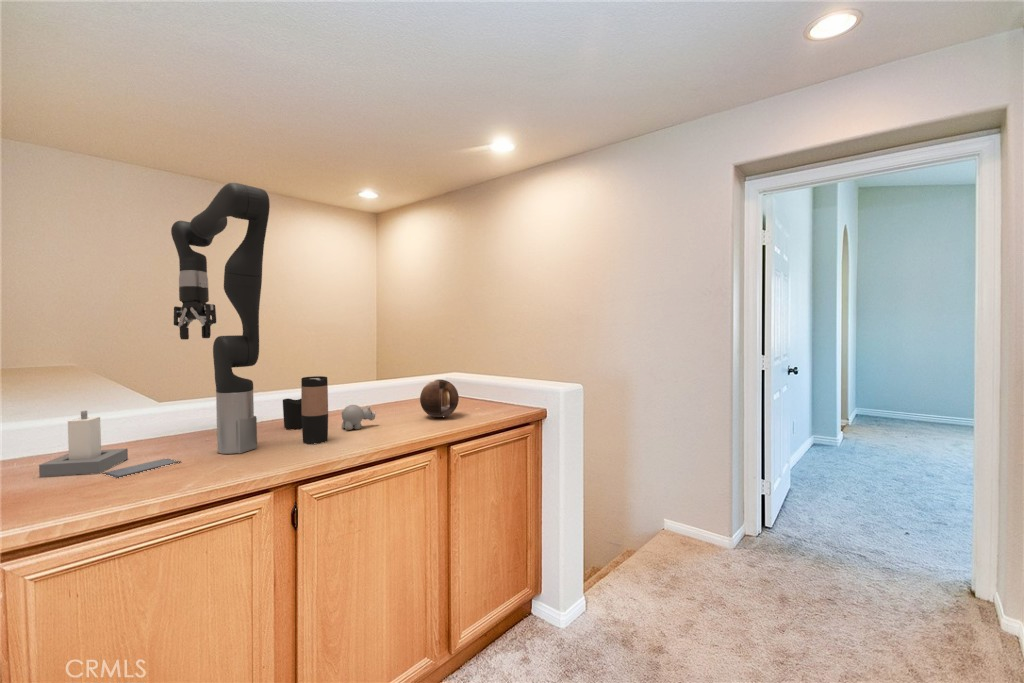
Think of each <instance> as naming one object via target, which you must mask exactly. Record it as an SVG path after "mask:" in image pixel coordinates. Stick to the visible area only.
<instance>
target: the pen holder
mask: <svg viewBox="0 0 1024 683" xmlns="http://www.w3.org/2000/svg"><path fill="white" fill-rule="evenodd" d="M282 413H283V414H282V416H283V427H284V429H285V428H286V430H291V429H294V430H302V429H301V428H302V402H301V398H299V399H292V398H284V399H282Z"/></svg>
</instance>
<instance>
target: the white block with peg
mask: <svg viewBox="0 0 1024 683" xmlns="http://www.w3.org/2000/svg"><path fill="white" fill-rule="evenodd" d="M101 429H102V427H101V416H90V417H88V410H81V411H80V417H77V418H74V419H71V420H67V439H68V440H67V444H68V454H69V460H83V459H94V458H96V457H98V456H101V450H102V439H101V438H102V435H101V434H102V433H101Z"/></svg>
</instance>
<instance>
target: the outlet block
mask: <svg viewBox="0 0 1024 683" xmlns="http://www.w3.org/2000/svg"><path fill="white" fill-rule="evenodd" d="M128 452H129V451H128V448H115V449H114V448H111V449H101V456H98V457H96V458H94V459H83V460H69V453H66V454H64V455H61V456H58V457H56V458H54V459H49V460H48V461H46V462H43V463H41V464H39V465H38V472H39V474H38V475H39V478H49V476H53V477H63V476H62V475H69V476H77V475H76V474H85V475H92V474H91V473H99V474H101V473H103V472H105V471H104V470H106V469H108V468H110V467H112V466H114V465H116V464H118V463H120V462H122V461H124V460H126V459H128V460H129V457H128V456H129V455H128V454H129V453H128ZM126 461H127V460H126ZM124 462H125V461H124ZM122 463H123V462H122ZM120 464H121V463H120ZM118 465H119V464H118ZM116 466H117V465H116ZM114 467H115V466H114ZM112 468H113V467H112ZM110 469H111V468H110ZM108 470H109V469H108ZM102 471H103V472H102ZM106 471H107V470H106ZM100 472H101V473H100Z"/></svg>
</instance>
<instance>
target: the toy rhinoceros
mask: <svg viewBox="0 0 1024 683" xmlns="http://www.w3.org/2000/svg"><path fill="white" fill-rule="evenodd" d="M376 415H377V411H376V410H374V411H372V409H371V407H370V406H369V407H368V405H366V406H365V407H364V408H362V407H361V406H359V405H357V404H349V405H347V406H345V408H344V409H343V410H342V411H341V419H342V423H341V429H343V428H345V429H344V430H345V431H346V430H347V431H350V430H360V428H361V429H362V423H361V422H362V421H363V420H367V421H374V420H375V418H376ZM353 427H354V428H353Z"/></svg>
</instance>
